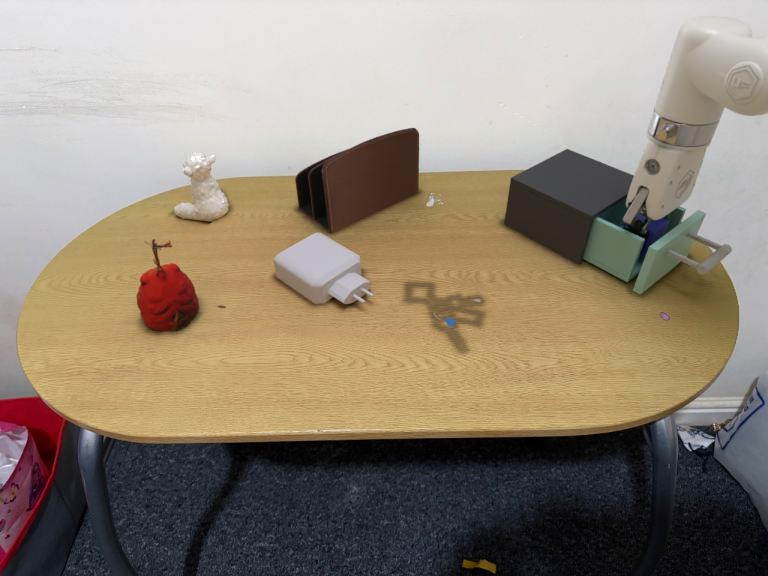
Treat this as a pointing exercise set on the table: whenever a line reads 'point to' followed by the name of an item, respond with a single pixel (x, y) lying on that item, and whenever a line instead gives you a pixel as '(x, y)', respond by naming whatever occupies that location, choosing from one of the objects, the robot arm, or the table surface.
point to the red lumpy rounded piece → (166, 295)
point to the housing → (564, 200)
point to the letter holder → (360, 180)
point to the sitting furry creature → (202, 191)
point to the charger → (322, 270)
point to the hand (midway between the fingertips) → (640, 243)
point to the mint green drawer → (623, 248)
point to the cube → (653, 231)
